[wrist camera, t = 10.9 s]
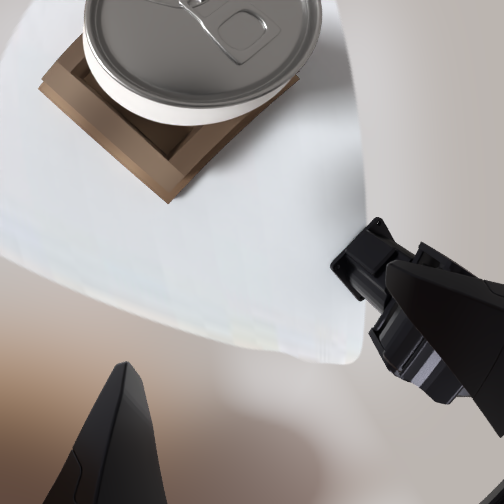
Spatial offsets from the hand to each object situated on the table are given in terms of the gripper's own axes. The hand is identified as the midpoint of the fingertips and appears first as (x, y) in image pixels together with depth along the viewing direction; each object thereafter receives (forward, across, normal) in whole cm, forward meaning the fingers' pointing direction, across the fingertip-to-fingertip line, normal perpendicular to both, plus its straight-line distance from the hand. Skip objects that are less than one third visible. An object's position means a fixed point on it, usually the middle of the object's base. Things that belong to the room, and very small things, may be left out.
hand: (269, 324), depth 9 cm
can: (+12, 0, -9) cm, 15 cm away
